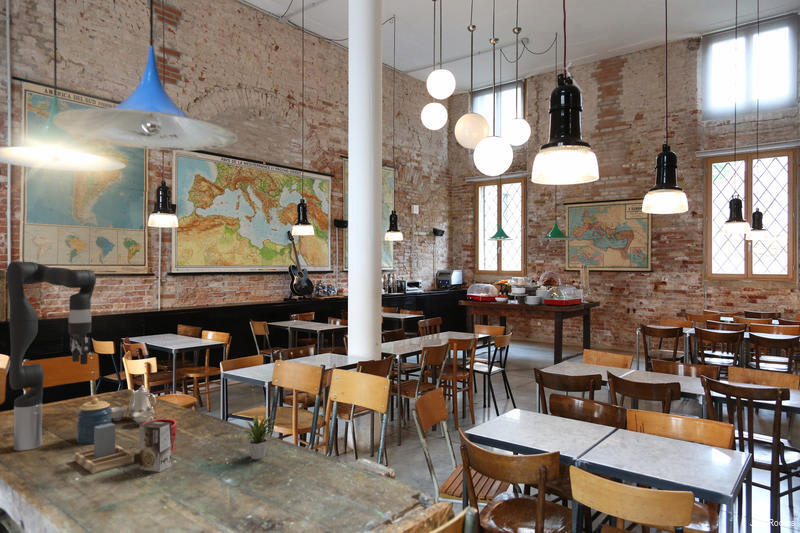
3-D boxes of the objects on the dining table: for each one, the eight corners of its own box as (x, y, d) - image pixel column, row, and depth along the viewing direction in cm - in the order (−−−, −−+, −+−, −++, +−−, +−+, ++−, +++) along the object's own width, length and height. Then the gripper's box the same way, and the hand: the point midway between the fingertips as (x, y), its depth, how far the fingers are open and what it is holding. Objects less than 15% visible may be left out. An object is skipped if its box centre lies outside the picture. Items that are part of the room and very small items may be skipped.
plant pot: (132, 456, 198) (132, 425, 198) (161, 446, 210) (162, 416, 210) (154, 462, 192) (154, 430, 192) (183, 451, 204) (184, 421, 204)
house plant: (265, 466, 189) (266, 422, 189) (231, 463, 192) (232, 420, 192) (282, 453, 203) (282, 411, 203) (250, 450, 206) (250, 409, 206)
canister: (118, 435, 223) (118, 394, 223) (98, 445, 210) (98, 402, 210) (90, 433, 224) (91, 393, 224) (68, 444, 212) (69, 401, 212)
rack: (74, 461, 193) (74, 453, 193) (114, 451, 204) (114, 443, 204) (93, 473, 182) (93, 465, 182) (134, 462, 192) (134, 454, 192)
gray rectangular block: (93, 461, 192) (94, 426, 192) (111, 456, 196) (111, 423, 196) (97, 463, 189) (97, 428, 189) (114, 459, 194) (115, 424, 194)
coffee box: (172, 465, 189) (172, 422, 189) (159, 472, 183) (160, 427, 183) (151, 463, 192) (152, 420, 192) (138, 469, 186) (139, 425, 186)
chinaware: (100, 425, 242) (97, 391, 240) (129, 412, 257) (126, 380, 256) (146, 432, 232) (143, 396, 231) (173, 418, 248) (171, 384, 246)
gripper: (97, 321, 197) (97, 363, 197) (84, 319, 206) (83, 359, 206) (75, 323, 191) (75, 366, 191) (62, 320, 200) (62, 361, 200)
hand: (79, 362), depth 199 cm, fingers open, 8 cm apart
